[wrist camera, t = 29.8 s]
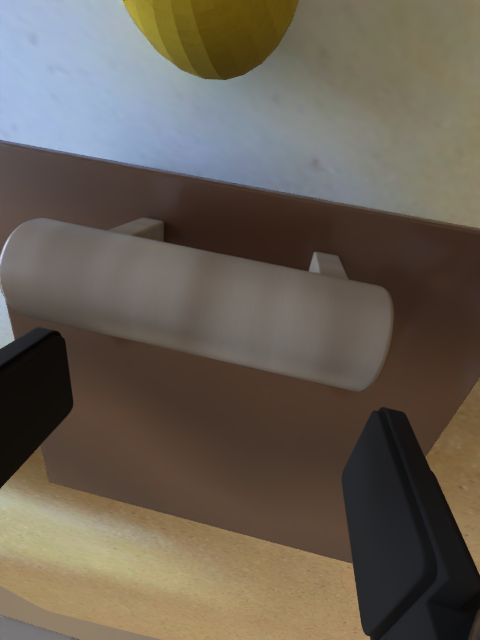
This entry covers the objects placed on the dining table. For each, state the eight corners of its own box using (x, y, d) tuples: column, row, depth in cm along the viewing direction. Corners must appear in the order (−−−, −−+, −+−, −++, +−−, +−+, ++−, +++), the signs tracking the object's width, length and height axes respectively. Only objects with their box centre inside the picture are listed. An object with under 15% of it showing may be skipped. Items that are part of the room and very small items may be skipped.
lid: (-11, 137, 9) (-357, 111, 4) (546, 240, 8) (929, 361, 3) (58, 469, 17) (-39, 595, 12) (350, 546, 16) (375, 720, 11)
